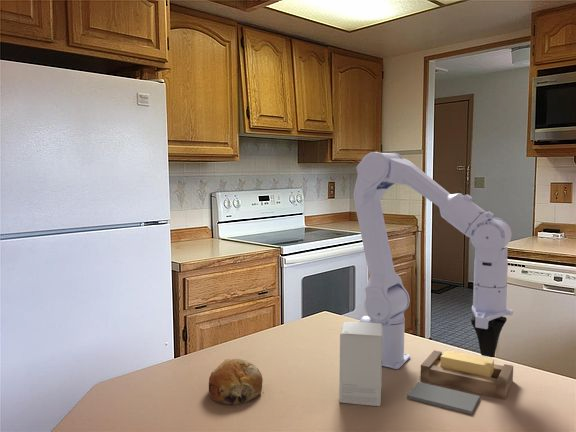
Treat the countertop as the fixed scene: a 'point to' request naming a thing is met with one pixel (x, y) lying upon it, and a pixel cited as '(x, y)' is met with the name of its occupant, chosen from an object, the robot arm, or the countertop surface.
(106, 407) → the countertop surface
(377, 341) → the supplement box
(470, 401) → the mat
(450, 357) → the bar
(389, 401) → the countertop surface
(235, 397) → the bread roll
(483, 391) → the pocket board
